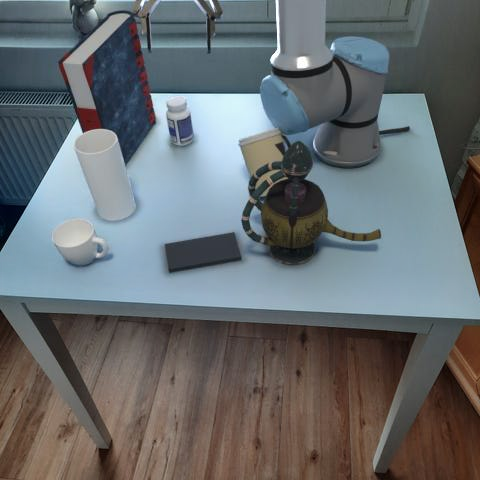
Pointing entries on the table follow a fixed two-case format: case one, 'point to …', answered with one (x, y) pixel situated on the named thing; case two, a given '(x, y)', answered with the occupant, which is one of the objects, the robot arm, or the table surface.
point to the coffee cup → (262, 153)
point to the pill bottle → (179, 121)
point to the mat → (202, 252)
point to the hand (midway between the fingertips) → (179, 51)
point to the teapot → (292, 209)
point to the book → (111, 81)
